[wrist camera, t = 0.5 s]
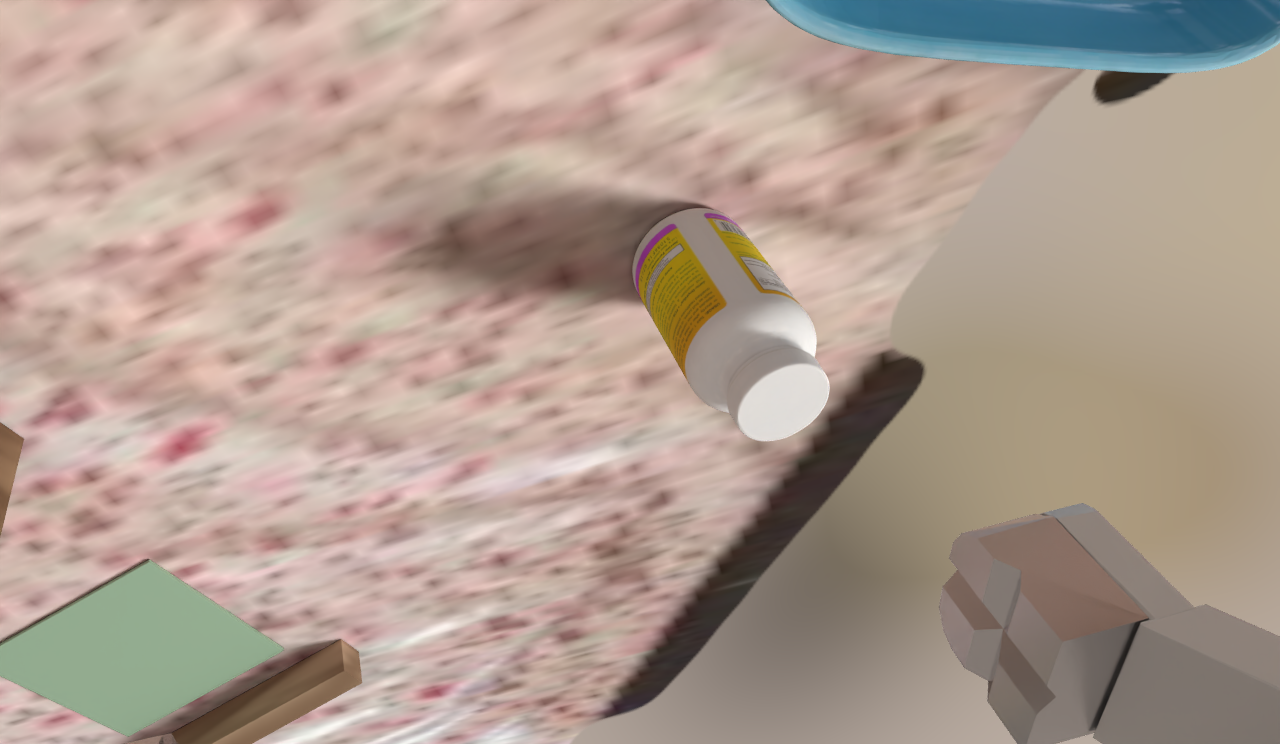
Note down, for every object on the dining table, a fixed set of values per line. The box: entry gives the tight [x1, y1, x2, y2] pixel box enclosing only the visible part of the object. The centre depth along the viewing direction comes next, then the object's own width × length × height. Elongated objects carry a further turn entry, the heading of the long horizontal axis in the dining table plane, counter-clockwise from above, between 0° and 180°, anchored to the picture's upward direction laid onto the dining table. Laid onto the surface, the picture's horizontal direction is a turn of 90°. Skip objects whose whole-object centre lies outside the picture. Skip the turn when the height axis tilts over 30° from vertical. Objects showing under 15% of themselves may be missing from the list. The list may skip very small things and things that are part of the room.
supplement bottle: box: [632, 208, 829, 441], centre depth 48 cm, size 7×7×13 cm
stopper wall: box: [172, 640, 362, 744], centre depth 64 cm, size 2×18×2 cm, turn 114°
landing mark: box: [0, 560, 284, 737], centre depth 59 cm, size 12×12×1 cm
